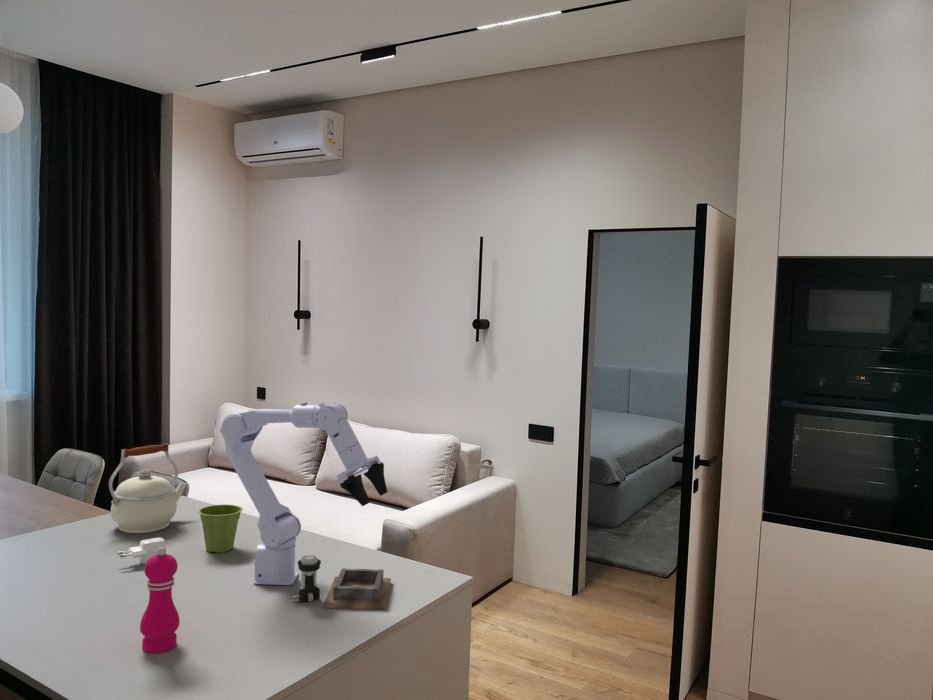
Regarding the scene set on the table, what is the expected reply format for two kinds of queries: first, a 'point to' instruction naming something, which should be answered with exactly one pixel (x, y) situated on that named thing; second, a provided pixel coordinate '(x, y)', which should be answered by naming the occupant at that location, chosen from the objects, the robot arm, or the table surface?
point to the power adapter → (145, 549)
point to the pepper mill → (160, 604)
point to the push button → (308, 579)
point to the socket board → (358, 590)
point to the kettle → (144, 496)
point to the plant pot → (220, 526)
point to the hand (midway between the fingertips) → (375, 499)
